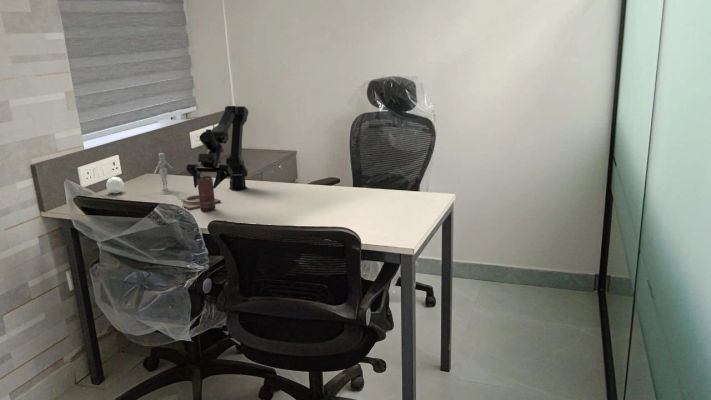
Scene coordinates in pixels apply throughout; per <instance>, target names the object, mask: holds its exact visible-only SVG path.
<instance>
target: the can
mask: <svg viewBox="0 0 711 400" xmlns="http://www.w3.org/2000/svg"><path fill="white" fill-rule="evenodd" d="M197 182H198V185H197V190H198V195H199V201H200V207H199V209H200V211H201V212H203V213H209V212H214V211H215V209H216V203H215V199H216V198H215V188H213V186H214V180H213V178H212V176H201V177H200V178H198V180H197ZM214 198H215V199H214Z"/></svg>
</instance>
